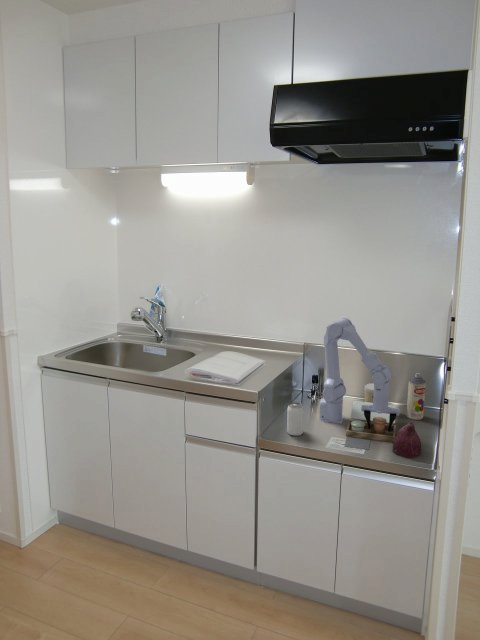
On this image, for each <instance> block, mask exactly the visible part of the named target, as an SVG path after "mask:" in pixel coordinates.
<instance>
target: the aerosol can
mask: <svg viewBox="0 0 480 640" xmlns="http://www.w3.org/2000/svg"><path fill="white" fill-rule="evenodd" d="M426 384H427V383H426V380H425V379H424V378H423V377H422V376H421V373H420V372H415V375H414V376H412V377H411V378H409V380H408V387H407V400H406V401H407V402H406V403H407V404H406V417H407V418H408V419H411V420H415V421H419V420H422V419H423V418H424V411H425V410H424V409H425V397H426Z"/></svg>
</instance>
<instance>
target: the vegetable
mask: <svg viewBox="0 0 480 640" xmlns="http://www.w3.org/2000/svg"><path fill="white" fill-rule="evenodd" d="M392 443H393V445H392V453H393V454H395V456H399V457H402V458H407V459H414V458H418V457H420V456H421V454H422V442H421V439H420V437H419V435H418V433H417V431H416V428H415V424H414V423H413V422H411V421H410V422H408V423H406V424H405V425H403V426H402V427H401V428H400V429H398V431H397V432H396V434H395V440H394V442H392Z"/></svg>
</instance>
